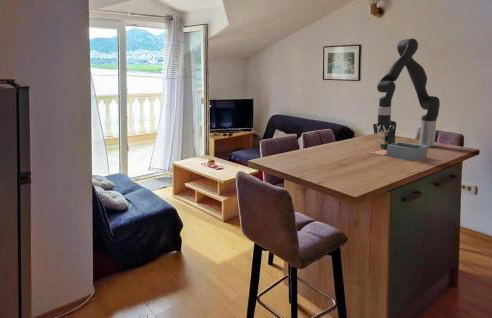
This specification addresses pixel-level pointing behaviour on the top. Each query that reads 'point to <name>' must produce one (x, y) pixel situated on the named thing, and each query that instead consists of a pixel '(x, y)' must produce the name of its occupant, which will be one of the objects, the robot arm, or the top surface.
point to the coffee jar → (391, 137)
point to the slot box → (407, 151)
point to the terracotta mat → (380, 152)
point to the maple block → (381, 137)
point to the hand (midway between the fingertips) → (382, 141)
